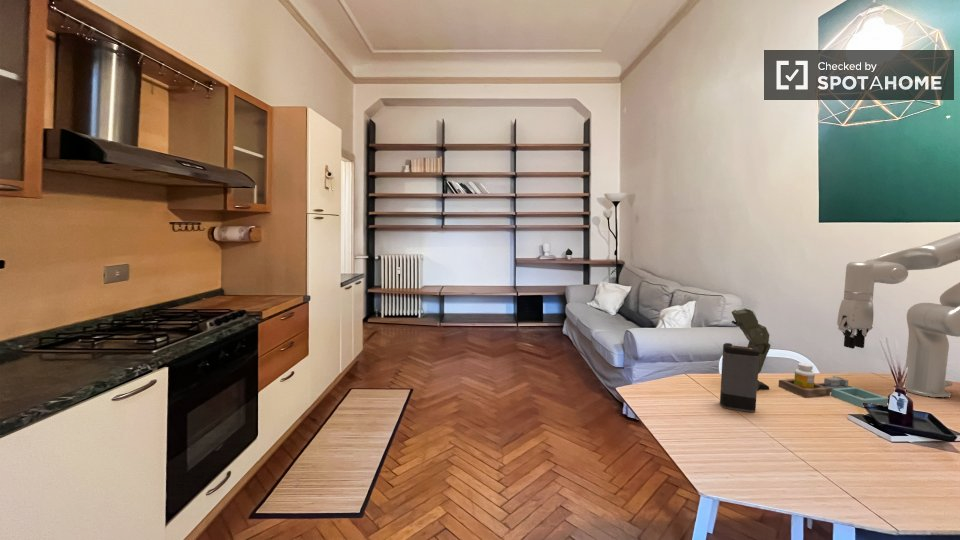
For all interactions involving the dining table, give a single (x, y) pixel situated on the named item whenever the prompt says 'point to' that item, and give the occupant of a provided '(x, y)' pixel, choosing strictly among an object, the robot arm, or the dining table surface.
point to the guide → (833, 387)
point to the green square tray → (853, 392)
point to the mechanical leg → (753, 336)
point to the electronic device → (739, 377)
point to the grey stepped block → (835, 382)
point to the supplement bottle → (804, 376)
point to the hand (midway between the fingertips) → (853, 346)
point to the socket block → (803, 392)
